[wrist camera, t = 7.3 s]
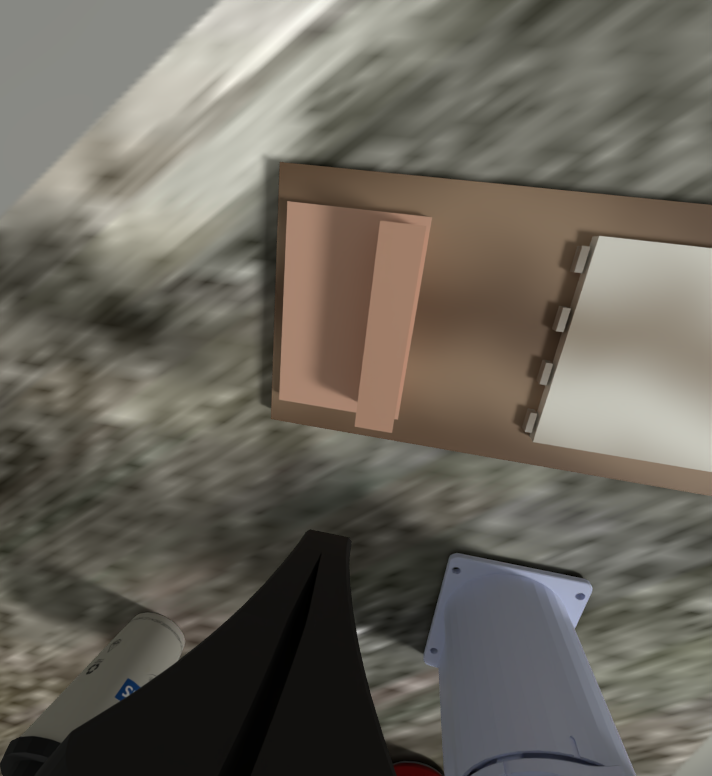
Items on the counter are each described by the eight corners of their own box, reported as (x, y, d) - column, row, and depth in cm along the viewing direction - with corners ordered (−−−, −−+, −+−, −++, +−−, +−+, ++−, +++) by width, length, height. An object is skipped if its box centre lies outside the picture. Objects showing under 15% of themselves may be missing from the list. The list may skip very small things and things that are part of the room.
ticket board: (745, 492, 18) (774, 513, 17) (277, 411, 21) (266, 423, 19) (900, 228, 14) (957, 226, 12) (287, 167, 16) (274, 158, 15)
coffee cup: (122, 653, 31) (-6, 826, 21) (112, 592, 28) (-37, 757, 19) (201, 673, 30) (104, 861, 21) (197, 612, 28) (86, 794, 18)
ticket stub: (398, 414, 19) (395, 444, 16) (283, 395, 19) (259, 420, 16) (431, 218, 15) (435, 210, 12) (291, 203, 16) (264, 191, 13)
